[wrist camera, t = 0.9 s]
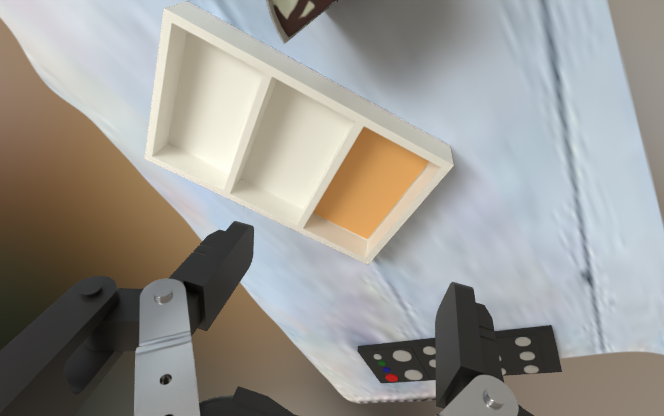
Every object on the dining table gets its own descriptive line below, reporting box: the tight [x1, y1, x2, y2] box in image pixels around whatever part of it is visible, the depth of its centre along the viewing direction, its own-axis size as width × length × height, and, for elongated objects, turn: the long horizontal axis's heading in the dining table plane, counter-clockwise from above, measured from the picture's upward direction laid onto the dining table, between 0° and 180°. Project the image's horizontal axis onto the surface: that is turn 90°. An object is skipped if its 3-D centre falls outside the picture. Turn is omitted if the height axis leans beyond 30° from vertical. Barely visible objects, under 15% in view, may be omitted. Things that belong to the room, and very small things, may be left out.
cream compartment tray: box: [145, 1, 454, 265], centre depth 38 cm, size 29×17×4 cm, turn 64°
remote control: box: [358, 325, 562, 383], centre depth 58 cm, size 11×30×2 cm, turn 116°
